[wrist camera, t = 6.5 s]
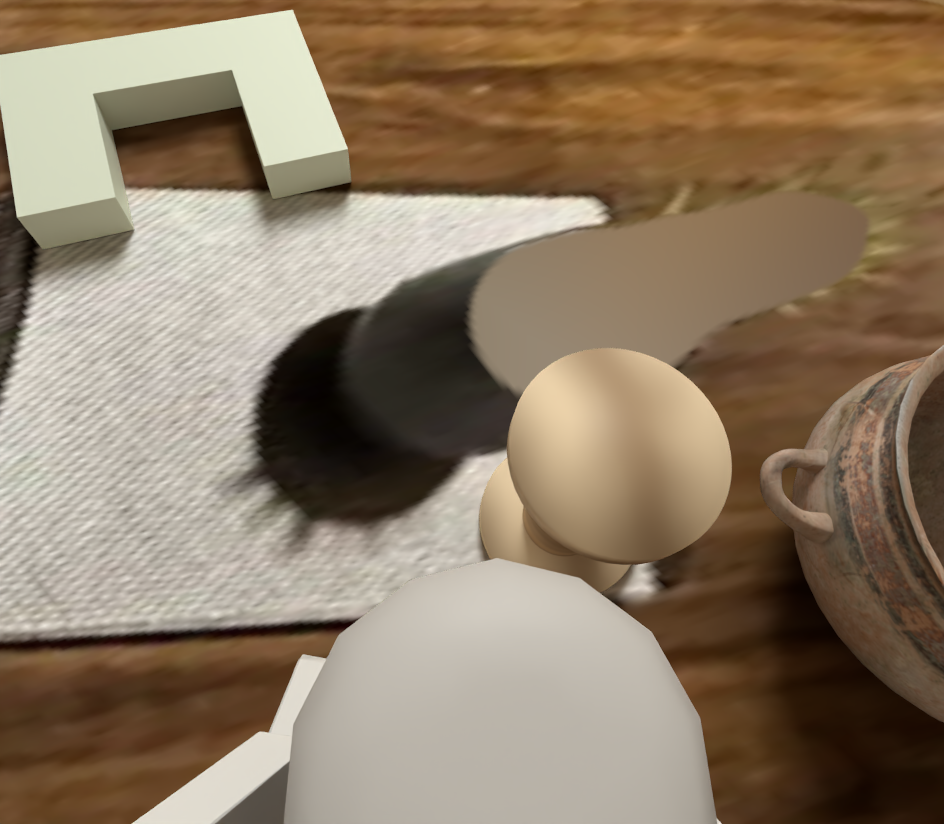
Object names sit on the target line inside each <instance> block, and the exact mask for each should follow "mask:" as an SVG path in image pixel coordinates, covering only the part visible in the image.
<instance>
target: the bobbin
mask: <svg viewBox="0 0 944 824" xmlns="http://www.w3.org/2000/svg"><path fill="white" fill-rule="evenodd" d="M731 471H732V464H731V452H730V447H729V443H728V438H727V436H726V433H725V430H724V427H723V425H722V423H721V421H720V418H719V416H718V414H717V413H716V411H715V409H714V408H713V406H712V405H711V403H710V402H709V400H708V399H707V398H706V397H705V395H704V394H703V393H702V392H701V391H700V390H699V389H698V388H697V387H696V386H695V385H694V384H693V383H692V382H691V381H690V380H689V379H688V378H687V377H685V376H684V375H683V374H682V373H680V372H679V371H677V370H676V369H674V368H673V367H671V366H669V365H668V364H666V363H664V362H662V361H660V360H658V359H656V358H653V357H651V356H648V355H645V354H643V353H639V352H635V351H630V350H625V349H617V348H597V349H588V350H584V351H580V352H576V353H573V354H570V355H568V356H565V357H563V358H561V359H559V360H557V361H555V362H553V363H552V364H550V365H549V366H548V367H546V368H545V369H544V370H542V371H541V372H540V373H539V374H538V375H537V376H536V377H535V378H534V379H533V380H532V382H531V383H530V384H529V385H528V387H527V388H526V390H525V391H524V393H523V395H522V396H521V398H520V400H519V402H518V405H517V407H516V410H515V413H514V415H513V418H512V421H511V424H510V428H509V433H508V441H507V458H506V459H505V460H504V461H503V462H502V463H501V464H500V465H499V466H498V467H497V469H496V470H495V471H494V473H493V474H492V476H491V478H490V480H489V481H488V484H487V486H486V489H485V491H484V494H483V497H482V501H481V505H480V514H479V524H480V532H481V538H482V541H483V544H484V547H485V550H486V552H487V554H488V556H489V558H490V560H491V559H495V558H499V559H503V560H507V561H511V562H516V563H520V564H524V565H528V566H532V567H536V568H540V569H545V570H549V571H553V572H557V573H561V574H565V575H569V576H573V577H578V578H580V579H582V580H583V581H584V582H586V583H587V584H588V585H590V586H591V587H592V588H594V589H595V590H596V591H598V592H599V593H601V592H603V591H605V590H607V589H608V588H610V587H611V586H612V585H614V584H615V583H616V582H617V581H618V580H619V579H620V578H622V576H623V575H624V574H625V573H626V571H627V570H628V569H629V567H630V565H636V564H643V563H649V562H653V561H656V560H660V559H663V558H665V557H667V556H670V555H672V554H674V553H676V552H678V551H680V550H681V549H683V548H685V547H687V546H688V545H690V544H691V543H693V542H694V541H696V540H697V539H699V538H700V537H701V536H702V535H703V534H704V533H705V532H706V531H707V530H708V529H709V528H710V527H711V525H712V524H713V523H714V521H715V520H716V519H717V517H718V515H719V514H720V512H721V510H722V508H723V506H724V504H725V501H726V498H727V495H728V492H729V487H730V482H731Z"/></svg>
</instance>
